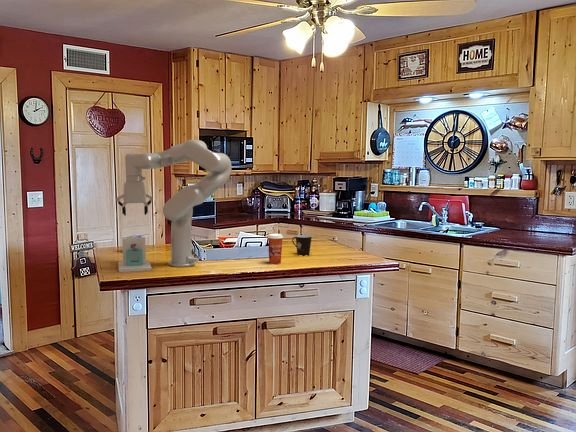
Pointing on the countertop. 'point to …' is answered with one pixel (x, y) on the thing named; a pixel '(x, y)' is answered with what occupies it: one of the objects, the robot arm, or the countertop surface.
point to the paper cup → (275, 248)
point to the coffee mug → (303, 244)
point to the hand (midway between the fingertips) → (135, 214)
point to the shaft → (134, 246)
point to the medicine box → (134, 236)
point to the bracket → (134, 255)
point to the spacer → (134, 263)
